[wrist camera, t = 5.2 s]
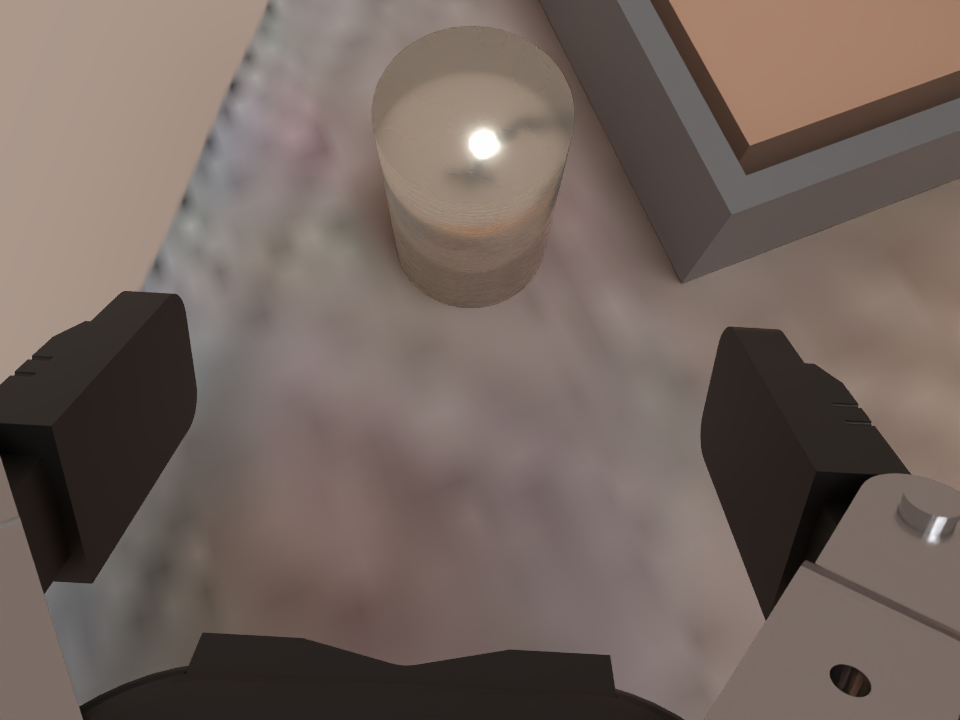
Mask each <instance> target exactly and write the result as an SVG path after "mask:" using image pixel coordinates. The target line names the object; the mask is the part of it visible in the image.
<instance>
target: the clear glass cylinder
mask: <svg viewBox="0 0 960 720" xmlns="http://www.w3.org/2000/svg"><path fill="white" fill-rule="evenodd" d="M574 119H575V111H574V102H573V98H572V94H571V90H570V88H569V86H568V83H567V81H566V79H565V77H564V75H563V74H562V72H561V70H560V69H559V68H558V66H557V65H556V64H555V63H554V61H553V60H552V59H551V58H550V57H549V56H548V55H547V54H546V53H545V52H543V51H542V50H541V49H540V48H538V47H537V46H536V45H534V44H533V43H531V42H529V41H527V40H526V39H524V38H522V37H520V36H517V35H515V34H513V33H510V32H507V31H503V30H500V29H495V28H490V27H480V26H462V27H455V28H449V29H445V30H441V31H437V32H434V33H432V34H429V35H427V36H424V37H423V38H421V39H419V40H417V41H415V42H413V43H412V44H411V45H409V46H408V47H406V48H405V49H404V50H403V51H401V52H400V53H399V54H398V55H397V56H396V57H395V58H394V59H393V60H392V62H391V63H390V64H389V65H388V66H387V68H386V69H385V71H384V73H383V74H382V76H381V78H380V80H379V82H378V84H377V87H376V90H375V94H374V97H373V104H372V124H373V130H374V135H375V140H376V145H377V151H378V156H379V161H380V166H381V171H382V176H383V181H384V186H385V191H386V197H387V202H388V207H389V212H390V217H391V222H392V227H393V232H394V237H395V242H396V248H397V253H398V256H399V260H400V263H401V265H402V267H403V269H404V271H405V273H406V274H407V276H408V277H409V279H410V280H411V281H412V282H413V283H414V284H415V285H416V286H417V287H418V288H419V289H420V290H421V291H422V292H424V293H425V294H427V295H428V296H430V297H431V298H433V299H435V300H437V301H439V302H442V303H445V304H448V305H451V306H456V307H463V308H480V307H486V306H491V305H494V304H497V303H500V302H502V301H504V300H507V299H509V298H510V297H512V296H514V295H515V294H517V293H518V292H519V291H520V290H522V289H523V288H524V287H525V286H526V285H527V284H528V283H529V282H530V280H531V279H532V278H533V276H534V275H535V273H536V271H537V269H538V267H539V266H540V263H541V260H542V257H543V253H544V249H545V245H546V241H547V237H548V233H549V229H550V224H551V220H552V216H553V212H554V208H555V204H556V200H557V196H558V192H559V188H560V183H561V179H562V175H563V171H564V167H565V163H566V159H567V155H568V151H569V147H570V143H571V138H572V134H573V129H574Z"/></svg>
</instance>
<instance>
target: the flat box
mask: <svg viewBox="0 0 960 720" xmlns="http://www.w3.org/2000/svg"><path fill="white" fill-rule="evenodd" d="M650 1H651V3H652V5H653V7H654V9H655V10H656V12H657V14H658V16H659V18H660V19H661V21H662V23H663V25H664V27H665V29H666V30H667V32H668V34H669V36H670V38H671V40H672V41H673V43H674V45H675V47H676V49H677V50H678V52H679V54H680V56H681V58H682V60H683V61H684V63H685V65H686V67H687V69H688V71H689V72H690V74H691V76H692V78H693V80H694V81H695V83H696V85H697V87H698V89H699V91H700V92H701V94H702V96H703V98H704V100H705V102H706V103H707V105H708V107H709V109H710V111H711V112H712V114H713V116H714V118H715V120H716V122H717V123H718V125H719V127H720V129H721V131H722V133H723V134H724V136H725V138H726V140H727V142H728V143H729V145H730V147H731V149H732V151H733V153H734V154H735V156H736V158H737V160H738V162H739V164H740V165H741V167H742V169H743V171H744V173H745V174H746V176H747V175H749V174H752V173H755V172H757V171H760V170H763V169H766V168H768V167H771V166H774V165H777V164H779V163H782V162H785V161H788V160H790V159H793V158H796V157H799V156H801V155H804V154H807V153H810V152H812V151H815V150H818V149H821V148H823V147H826V146H829V145H831V144H834V143H837V142H840V141H842V140H845V139H848V138H851V137H853V136H856V135H859V134H862V133H864V132H867V131H870V130H873V129H875V128H878V127H881V126H884V125H886V124H889V123H892V122H895V121H897V120H900V119H903V118H905V117H908V116H911V115H914V114H916V113H919V112H922V111H925V110H927V109H930V108H933V107H936V106H938V105H941V104H944V103H947V102H949V101H952V100H955V99H958V98H960V0H650Z"/></svg>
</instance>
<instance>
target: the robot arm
mask: <svg viewBox="0 0 960 720" xmlns="http://www.w3.org/2000/svg"><path fill="white" fill-rule="evenodd" d="M196 402H197V387H196V379H195V373H194V366H193V359H192V352H191V345H190V338H189V331H188V324H187V318H186V311H185V307H184V304H183V301H182V299H181V298H180V297H179V296H178V295H177V294H167V293H150V292H131V291H124V292H122V293H120V294H119V295H118V296H117V297H116V298H115V299H114V300H113V301H112V302H111V303H109V304H108V305H107V306H106V307H105V308H104V309H103V310H102V311H101V312H100V313H99V314H98V315H97V316H96V317H95V318H94V319H93V320H92V321H85V322H83V323H81V324H79V325H76V326H75V327H72V328H70V329H68V330H66V331H64V332H62V333H60V334H58V335H56V336H54V337H52V338H51V339H50V340H49V341H48V342H47V343H46V344H45V345H44V346H42V347H41V348H40V349H39V350H38V351H37V352H36V353H35V354H33V355H32V360H27V361H26V362H25V363H24V364H22V365H21V366H20V367H19V368H18V369H17V370H16V371H15V376H9V377H8V378H7V379H6V380H5V381H4V382H3V383H2V384H1V385H0V720H684V719H682V718H681V717H679V716H678V715H676V714H674V713H672V712H670V711H668V710H667V709H665V708H663V707H661V706H659V705H657V704H655V703H653V702H650V701H648V700H646V699H643V698H641V697H638V696H636V695H633V694H631V693H627V692H624V691H621V690H618V689H615V685H614V679H613V672H612V665H611V659H610V655H596V654H578V653H560V652H542V651H524V650H505V651H499V652H493V653H487V654H481V655H474V656H468V657H462V658H456V659H450V660H444V661H438V662H431V663H425V664H419V665H411V666H401V665H395V664H391V663H388V662H384V661H381V660H377V659H374V658H370V657H367V656H363V655H360V654H356V653H353V652H349V651H346V650H342V649H339V648H335V647H332V646H328V645H325V644H321V643H318V642H314V641H311V640H307V639H304V638H289V637H271V636H253V635H235V634H217V633H202V635H201V638H200V640H199V642H198V645H197V647H196V650H195V652H194V654H193V657H192V659H191V661H190V664H189V666H185V667H179V668H174V669H170V670H166V671H162V672H159V673H155V674H151V675H148V676H145V677H142V678H140V679H137V680H134V681H131V682H128V683H126V684H123V685H121V686H119V687H117V688H115V689H112V690H110V691H108V692H106V693H104V694H102V695H99V696H98V697H96V698H94V699H92V700H91V701H89V702H87V703H85V704H83V705H82V706H80V707H79V705H78V702H77V699H76V695H75V692H74V689H73V686H72V683H71V679H70V676H69V673H68V670H67V667H66V664H65V660H64V657H63V654H62V651H61V648H60V644H59V641H58V638H57V635H56V632H55V628H54V625H53V622H52V619H51V616H50V612H49V609H48V606H47V603H46V600H45V596H44V594H45V592H46V591H47V589H48V588H49V586H50V585H51V583H52V582H53V581H56V582H74V583H93V582H94V580H95V578H96V577H97V575H98V574H99V572H100V570H101V569H102V567H103V566H104V564H105V562H106V561H107V559H108V558H109V556H110V554H111V553H112V551H113V550H114V548H115V546H116V545H117V543H118V542H119V540H120V538H121V537H122V535H123V534H124V532H125V530H126V529H127V527H128V526H129V524H130V522H131V521H132V519H133V518H134V516H135V514H136V513H137V511H138V510H139V508H140V506H141V505H142V503H143V502H144V500H145V498H146V497H147V495H148V494H149V492H150V490H151V489H152V487H153V486H154V484H155V482H156V481H157V479H158V478H159V476H160V474H161V473H162V471H163V470H164V468H165V466H166V465H167V463H168V462H169V460H170V458H171V457H172V455H173V454H174V452H175V451H176V449H177V447H178V446H179V444H180V443H181V441H182V439H183V438H184V436H185V435H186V433H187V431H188V430H189V428H190V426H191V424H192V421H193V418H194V415H195V410H196ZM701 449H702V454H703V458H704V461H705V463H706V466H707V468H708V471H709V474H710V476H711V479H712V481H713V484H714V487H715V489H716V492H717V495H718V497H719V500H720V502H721V505H722V508H723V510H724V513H725V515H726V518H727V521H728V523H729V526H730V529H731V531H732V534H733V536H734V539H735V542H736V544H737V547H738V549H739V552H740V555H741V557H742V560H743V562H744V565H745V568H746V570H747V573H748V576H749V578H750V581H751V583H752V586H753V589H754V591H755V594H756V596H757V599H758V602H759V604H760V607H761V609H762V612H763V615H764V617H765V620H766V622H765V623H764V625H763V627H762V628H761V630H760V631H759V633H758V635H757V636H756V638H755V639H754V641H753V643H752V644H751V646H750V647H749V649H748V651H747V652H746V654H745V655H744V657H743V659H742V660H741V662H740V663H739V665H738V667H737V668H736V670H735V671H734V673H733V674H732V676H731V678H730V679H729V681H728V682H727V684H726V686H725V687H724V689H723V690H722V692H721V694H720V695H719V697H718V698H717V700H716V702H715V703H714V705H713V706H712V708H711V710H710V711H709V713H708V714H707V716H706V718H705V719H704V720H960V492H959V491H958V490H956V489H954V488H952V487H949V486H947V485H945V484H942V483H940V482H937V481H934V480H931V479H927V478H924V477H920V476H915V475H911V474H910V472H909V471H908V470H907V468H906V467H905V466H904V464H903V463H902V462H901V460H900V459H899V458H898V456H897V455H896V454H895V452H894V451H893V450H892V448H891V447H890V446H889V444H888V443H887V442H886V440H885V439H884V438H883V436H882V435H881V434H880V432H879V431H878V430H877V428H876V427H875V426H871V420H870V419H869V418H868V416H867V415H866V414H865V412H864V411H863V410H862V408H858V403H857V402H856V400H855V399H854V398H853V396H852V395H851V394H850V393H849V391H848V390H847V389H846V387H845V386H844V385H843V383H842V382H840V381H839V380H837V379H836V378H834V377H833V376H831V375H830V374H828V373H827V372H825V371H824V370H823V369H821V368H820V367H818V366H817V365H815V364H807V363H804V362H803V361H802V359H801V358H800V356H799V355H798V353H797V352H796V351H795V349H794V348H793V346H792V345H791V343H790V342H789V341H788V339H787V338H786V336H785V335H784V333H783V332H782V331H781V330H778V329H761V328H743V327H727V328H726V329H725V330H724V331H723V333H722V335H721V338H720V341H719V345H718V349H717V354H716V358H715V362H714V367H713V371H712V376H711V380H710V385H709V389H708V393H707V398H706V402H705V407H704V411H703V416H702V422H701Z"/></svg>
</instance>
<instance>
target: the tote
mask: <svg viewBox="0 0 960 720" xmlns="http://www.w3.org/2000/svg"><path fill="white" fill-rule="evenodd" d="M539 1H540V3H541V5H542V7H543V9H544V11H545V13H546V15H547V17H548V19H549V21H550V23H551V24H552V26H553V28H554V30H555V32H556V34H557V36H558V38H559V40H560V42H561V44H562V46H563V48H564V50H565V52H566V54H567V56H568V58H569V60H570V62H571V64H572V66H573V68H574V70H575V72H576V74H577V76H578V78H579V80H580V82H581V84H582V86H583V88H584V90H585V92H586V94H587V96H588V98H589V100H590V102H591V104H592V106H593V108H594V110H595V112H596V114H597V116H598V118H599V120H600V122H601V124H602V126H603V128H604V130H605V132H606V134H607V136H608V138H609V140H610V142H611V144H612V146H613V148H614V150H615V152H616V154H617V156H618V158H619V160H620V162H621V164H622V166H623V168H624V170H625V172H626V174H627V176H628V178H629V180H630V182H631V184H632V186H633V188H634V190H635V192H636V194H637V196H638V198H639V200H640V202H641V204H642V205H643V207H644V209H645V211H646V213H647V215H648V217H649V219H650V221H651V223H652V225H653V227H654V229H655V231H656V233H657V235H658V237H659V239H660V241H661V243H662V245H663V247H664V249H665V251H666V253H667V255H668V257H669V259H670V261H671V263H672V265H673V267H674V269H675V271H676V273H677V275H678V277H679V279H680V281H681V283H684V282H687V281H690V280H692V279H695V278H697V277H700V276H703V275H705V274H708V273H711V272H713V271H716V270H719V269H721V268H724V267H726V266H729V265H732V264H734V263H737V262H740V261H742V260H745V259H748V258H750V257H753V256H755V255H758V254H761V253H763V252H766V251H769V250H771V249H774V248H776V247H779V246H782V245H784V244H787V243H790V242H792V241H795V240H798V239H800V238H803V237H805V236H808V235H811V234H813V233H816V232H819V231H821V230H824V229H827V228H829V227H832V226H834V225H837V224H840V223H842V222H845V221H848V220H850V219H853V218H855V217H858V216H861V215H863V214H866V213H869V212H871V211H874V210H877V209H879V208H882V207H884V206H887V205H890V204H892V203H895V202H898V201H900V200H903V199H906V198H908V197H911V196H913V195H916V194H919V193H921V192H924V191H927V190H929V189H932V188H935V187H937V186H940V185H942V184H945V183H948V182H950V181H953V180H956V179H958V178H960V98H958V99H955V100H952V101H949V102H947V103H944V104H941V105H938V106H936V107H933V108H930V109H927V110H925V111H922V112H919V113H916V114H914V115H911V116H908V117H905V118H903V119H900V120H897V121H895V122H892V123H889V124H886V125H884V126H881V127H878V128H875V129H873V130H870V131H867V132H864V133H862V134H859V135H856V136H853V137H851V138H848V139H845V140H842V141H840V142H837V143H834V144H831V145H829V146H826V147H823V148H821V149H818V150H815V151H812V152H810V153H807V154H804V155H801V156H799V157H796V158H793V159H790V160H788V161H785V162H782V163H779V164H777V165H774V166H771V167H768V168H766V169H763V170H760V171H757V172H755V173H752V174H749V175H747V176H746V174H745V173H744V171H743V169H742V167H741V165H740V164H739V162H738V160H737V158H736V156H735V154H734V153H733V151H732V149H731V147H730V145H729V143H728V142H727V140H726V138H725V136H724V134H723V133H722V131H721V129H720V127H719V125H718V123H717V122H716V120H715V118H714V116H713V114H712V112H711V111H710V109H709V107H708V105H707V103H706V102H705V100H704V98H703V96H702V94H701V92H700V91H699V89H698V87H697V85H696V83H695V81H694V80H693V78H692V76H691V74H690V72H689V71H688V69H687V67H686V65H685V63H684V61H683V60H682V58H681V56H680V54H679V52H678V50H677V49H676V47H675V45H674V43H673V41H672V40H671V38H670V36H669V34H668V32H667V30H666V29H665V27H664V25H663V23H662V21H661V19H660V18H659V16H658V14H657V12H656V10H655V9H654V7H653V5H652V3H651V1H650V0H539Z"/></svg>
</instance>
